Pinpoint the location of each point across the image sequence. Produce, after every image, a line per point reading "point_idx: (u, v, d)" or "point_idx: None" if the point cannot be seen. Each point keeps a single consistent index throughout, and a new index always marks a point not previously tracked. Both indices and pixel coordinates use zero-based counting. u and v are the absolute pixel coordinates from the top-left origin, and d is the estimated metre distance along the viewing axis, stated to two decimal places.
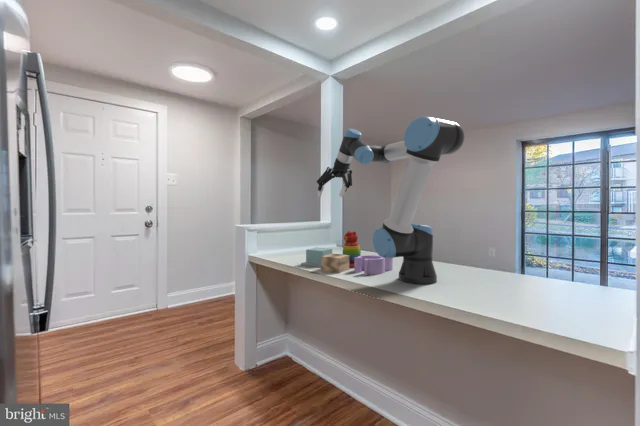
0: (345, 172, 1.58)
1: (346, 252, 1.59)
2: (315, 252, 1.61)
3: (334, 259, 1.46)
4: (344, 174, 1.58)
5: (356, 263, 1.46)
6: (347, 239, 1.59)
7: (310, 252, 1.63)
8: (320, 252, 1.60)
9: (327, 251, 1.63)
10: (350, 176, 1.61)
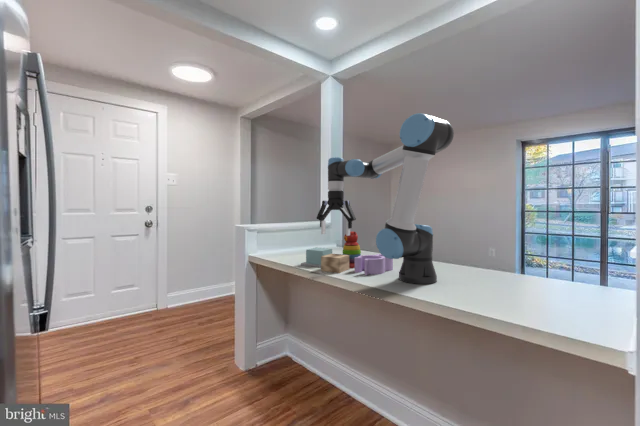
0: (340, 203, 1.49)
1: (346, 252, 1.59)
2: (315, 252, 1.61)
3: (334, 259, 1.46)
4: (338, 205, 1.49)
5: (356, 263, 1.46)
6: (347, 239, 1.59)
7: (310, 252, 1.63)
8: (320, 252, 1.60)
9: (327, 251, 1.63)
10: (347, 207, 1.47)
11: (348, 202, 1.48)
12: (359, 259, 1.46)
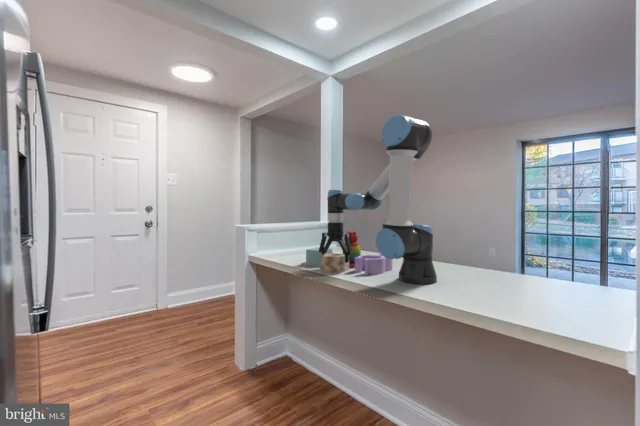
0: (339, 235, 1.49)
1: None
2: (315, 252, 1.61)
3: (334, 259, 1.47)
4: (337, 237, 1.49)
5: (356, 263, 1.46)
6: None
7: (310, 252, 1.63)
8: (320, 252, 1.60)
9: (327, 251, 1.63)
10: (346, 241, 1.47)
11: (348, 236, 1.48)
12: (359, 259, 1.46)
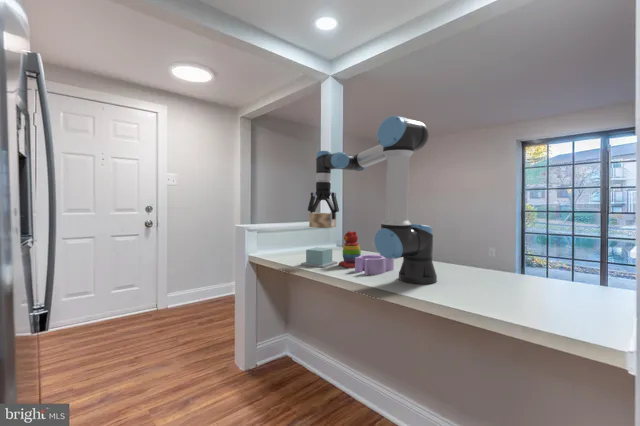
0: (327, 193, 1.59)
1: (346, 252, 1.59)
2: (315, 252, 1.61)
3: (321, 215, 1.56)
4: (325, 195, 1.59)
5: (357, 263, 1.47)
6: (347, 239, 1.59)
7: (310, 252, 1.63)
8: (320, 252, 1.60)
9: (327, 251, 1.63)
10: (333, 199, 1.57)
11: (334, 194, 1.58)
12: (360, 259, 1.47)
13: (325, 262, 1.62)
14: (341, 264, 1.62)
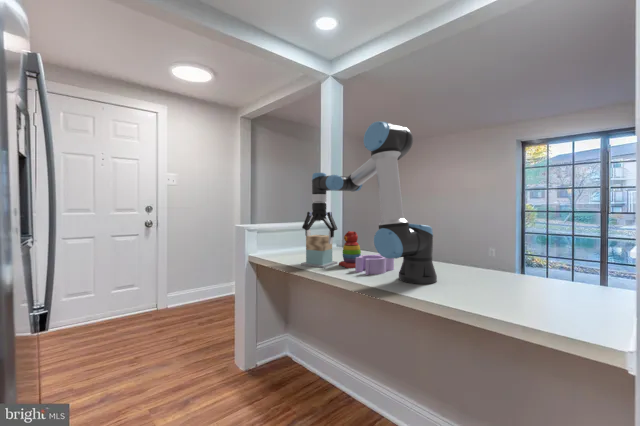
0: (323, 214, 1.63)
1: (346, 252, 1.59)
2: (315, 252, 1.61)
3: (317, 238, 1.60)
4: (321, 216, 1.63)
5: (357, 263, 1.47)
6: (347, 239, 1.59)
7: (310, 252, 1.63)
8: (320, 252, 1.60)
9: (327, 251, 1.63)
10: (329, 218, 1.61)
11: (330, 213, 1.62)
12: (360, 259, 1.47)
13: (325, 262, 1.62)
14: (341, 264, 1.62)
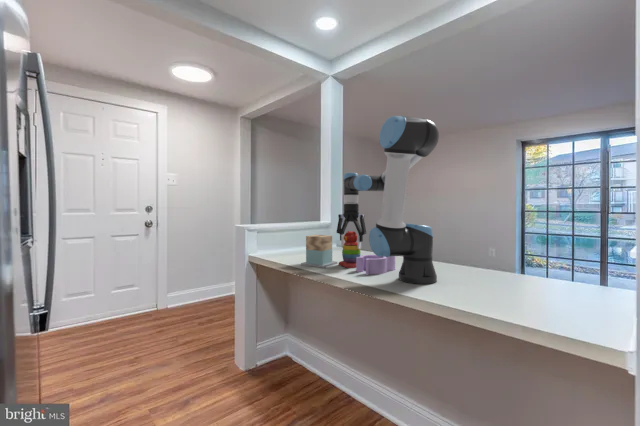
0: (355, 215, 1.59)
1: (346, 252, 1.59)
2: (315, 252, 1.61)
3: (317, 238, 1.60)
4: (353, 217, 1.59)
5: (358, 263, 1.47)
6: (347, 239, 1.59)
7: (310, 252, 1.63)
8: (320, 252, 1.60)
9: (327, 251, 1.63)
10: (361, 221, 1.57)
11: (363, 216, 1.58)
12: (361, 259, 1.47)
13: (325, 262, 1.62)
14: (341, 264, 1.62)
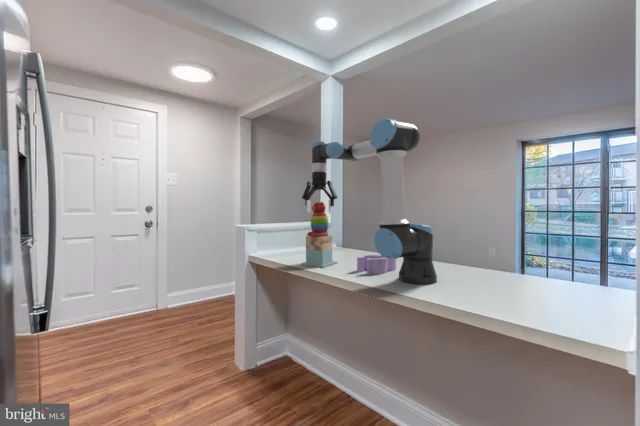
0: (323, 183, 1.63)
1: (313, 222, 1.62)
2: (315, 252, 1.61)
3: (317, 238, 1.60)
4: (321, 184, 1.62)
5: (359, 263, 1.47)
6: (314, 209, 1.63)
7: (310, 252, 1.63)
8: (320, 252, 1.60)
9: (327, 251, 1.63)
10: (329, 187, 1.61)
11: (330, 182, 1.61)
12: (362, 259, 1.47)
13: (325, 262, 1.62)
14: (309, 234, 1.66)
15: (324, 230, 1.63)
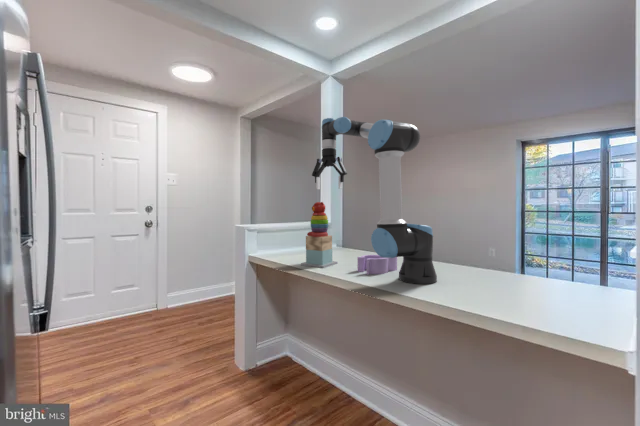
0: (333, 159, 1.65)
1: (313, 222, 1.62)
2: (315, 252, 1.61)
3: (317, 238, 1.60)
4: (331, 161, 1.65)
5: (359, 262, 1.48)
6: (314, 209, 1.63)
7: (310, 252, 1.63)
8: (320, 252, 1.60)
9: (327, 251, 1.63)
10: (339, 163, 1.63)
11: (340, 158, 1.64)
12: (362, 259, 1.48)
13: (325, 262, 1.62)
14: (309, 234, 1.66)
15: (324, 230, 1.63)
